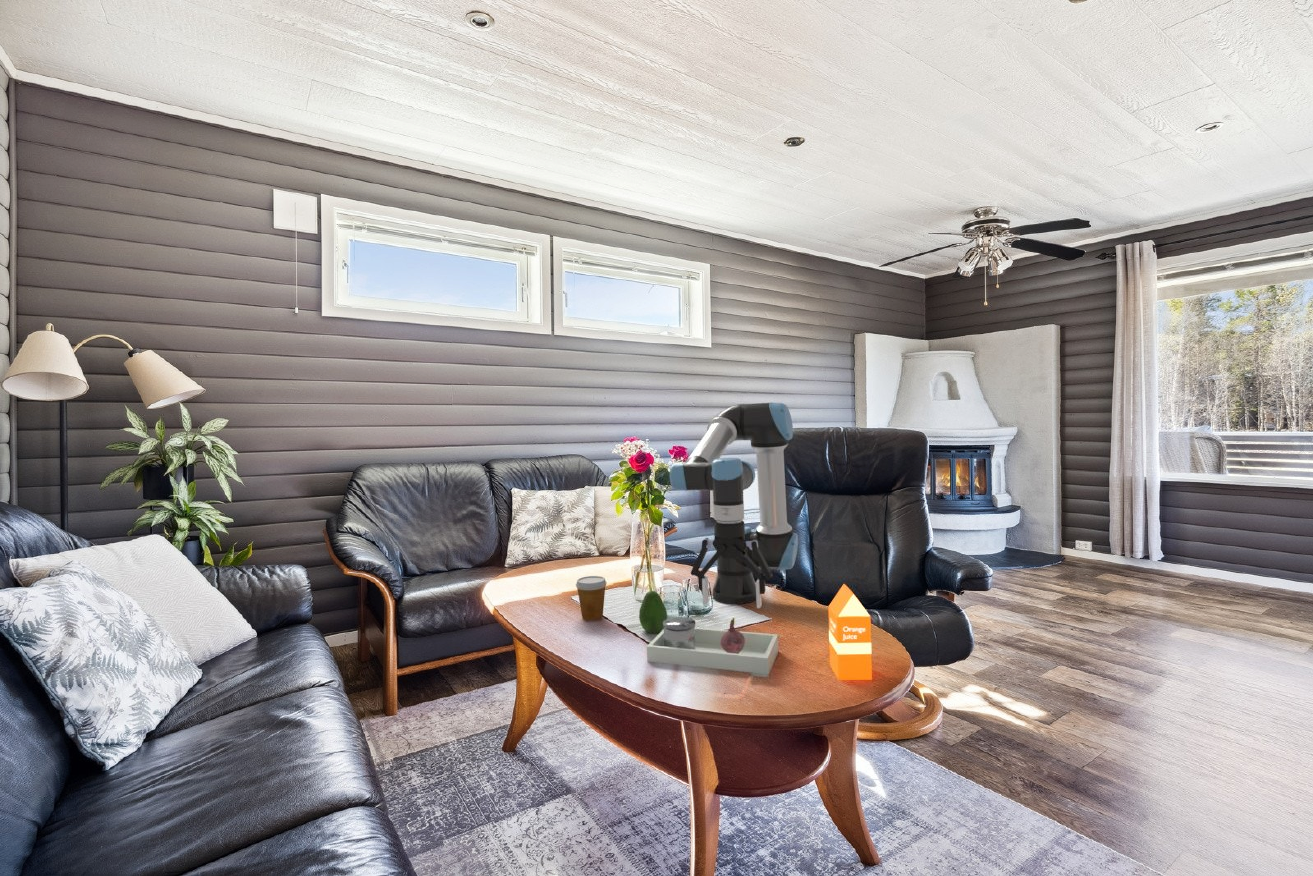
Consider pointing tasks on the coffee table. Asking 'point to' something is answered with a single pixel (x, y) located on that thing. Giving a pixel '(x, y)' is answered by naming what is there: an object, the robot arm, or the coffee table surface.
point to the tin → (679, 632)
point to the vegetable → (732, 640)
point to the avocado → (652, 613)
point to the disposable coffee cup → (591, 597)
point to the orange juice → (849, 637)
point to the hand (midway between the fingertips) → (732, 604)
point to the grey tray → (719, 652)
